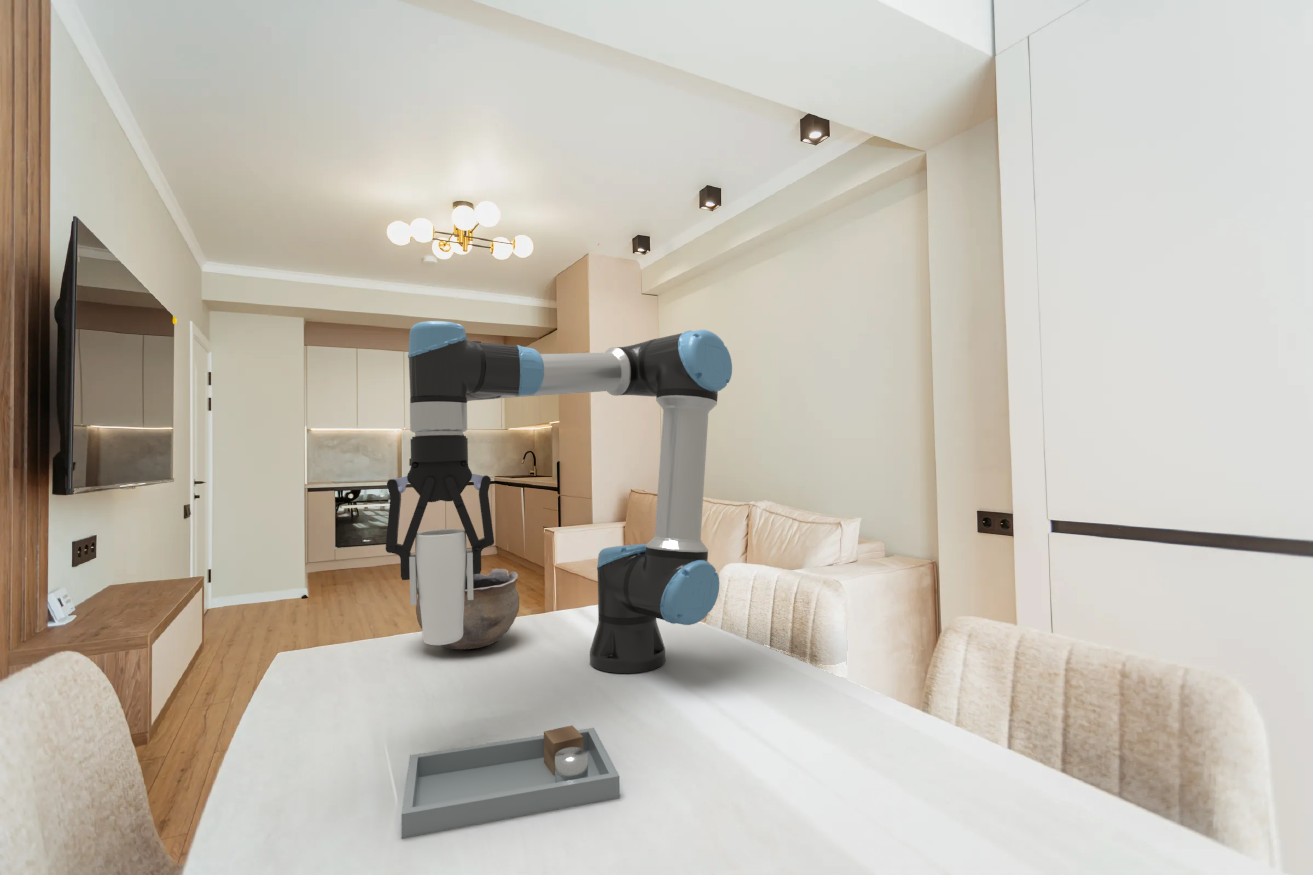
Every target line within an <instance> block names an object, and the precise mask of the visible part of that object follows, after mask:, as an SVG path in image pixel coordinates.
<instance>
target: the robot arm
mask: <svg viewBox="0 0 1313 875" xmlns="http://www.w3.org/2000/svg"><path fill="white" fill-rule="evenodd" d="M407 358H408V371H409V373H408V374H409V426H410V427H409V428H410V432H412V433H414V436H412V437H411V438H410V469H409V471H408V473H407V475H405V476H402V477H397V478H391V479H388V480H387V482H386V487H387V489H388V494H389V497H390V498H389V508H388V518H387V520H388V521H387V530H386V539H385V551H386V553H389V554H394V555H397V556H398V557H399V558H400V578H401V580H402V581H409V606H410V607H411V606H416V604H417V599H418V594H417V573H416V556H415V553H411V551H412V548H413V545H414V544H415V543H414V542H415V539H416V534H417V533H419V532H418V531H419V528H420V526H421V522H422V520H423V517H424V514H425V512H426V509H427V506H428V503H436V502H439V501H443V502H453V504H454V507H455V510H456V512H457V514H458V516H459V519H460V522H461V524H462V527H463V530H465V532H466V538H468V542H469V545H470V547H471V549H467V568H466V569H467V597H468V600H474V599H473V574H480V573H482V572H481V571H482V551H483V550H485V549H486V548H488V547H491V546H493V545H494V544H495V537H494V529H493V521H492V515H491V507H490V506H491V505H490V497H489V490H490V485H491V480H492V479H491V477H490V476H488V475H487V474H486V475H480V474H475V473H473V472H472V470H471V469H470V467H469V448H468V446H469V445H468V444H469V442H468V440H469V439H468V437H467V436H466V435H464V432H467V431H468V404H467V403H468V402H471V401H483V400H486V401H487V400H495V399H509V398H525V397H526V398H527V397H539V396H554V395H555V396H556V395H568V394H570V395H571V394H585V393H598V392H599V393H600V392H601V393H602V392H607V393H608V394H609V395H611V396H640V397H656V399H655V400H656V403H657V404H658V405H659V406H660V407H661V408H662V412H663V413H662V423H661V424H662V426H661V441H660V452H659V453H660V455H659V470H658V484H657V494H656V495H657V497H656V510H655V511H656V514H655V527H654V537H652V539H651V540H649V542H647V543H637V544H626V545H615V546H610V547H605V548H602V549H601V550H599V553H598V556H597V558H598V559H597V567H596V570H597V609H598V610H597V612H598V613H597V616H598V617H597V618H598V620H597V621H598V622H597V625H596V629H595V633H594V636H593V640H592V643H591V646H590V650H589V664H590V665H591V667H593V668H594V669H596V670H598V671H603V672H605V673H606V672H607V673H614V674H636V673H645V672H648V671H653V670H655V669H657V668H660V667H661V666H663V665H664V664H665V663H666V658H667V656H666V646H665V643H664V641H663V637H662V634H661V632H660V629H659V628H660V627H659V626H658V622H657V619H659V620H663V621H665V622H667V623H670V624H672V625H674V624H678V625H684V626H691V625H695V624H697V623H700V622H701V621H703V620H704V619H705V618H706V617H708V613H710V612H711V611H712V610H713V609H714V606H715V605H716V602H717V599H718V597H719V592H720V576H719V574H718V572H717V569H716V568H715V567H714V565H712V564H711V563H710V562H709V561H708V559H709V558H708V556H709V549H708V547H707V546H706V545H705V544H704V543H703V541H702V521H703V508H704V505H703V504H704V492H705V491H704V490H705V474H706V460H707V459H706V458H707V442H708V424H709V413H710V411H712V410H713V409H714V408H715V407H716V406H718V397H719V396H718V394H719V392H720V391H722V390H723V389H725V388H726V387H727V385H728V384H729V383H730V381H731V379H732V373H733V363H732V358H731V354H730V352H729V349H728V346H726V345H725V343H724V341H723V340H722V339H721V337H720V336H719V335H717V334H716V333H714V332H712V331H710V330H707V329H706V330H705V329H698V330H697V329H696V330H687V331H683V332H682V333H677V334H672V335H668V336H663V337H659V338H658V337H657V338H653V339H650V340H647V341H643V342H638V343H635V344H631V345H627V346H619V347H618V346H617V347H616V346H615V347H614V346H613V347H609V348H608V349H607V350H605V352H579V353H578V352H574V353H573V352H572V353H571V352H570V353H569V352H568V353H567V352H566V353H540V352H539V351H538V350H537V349H535V348H533V347H526V346H521V345H519V344H516V345H513V344H512V345H511V344H500V343H491V342H490V343H488V342H479V341H477V342H476V341H473V340H468V336H467V333H466V329H465V327H464V325H461V323H455V322H452V321H445V320H444V321H442V320H428V321H420V322H418V323H415V324H413V326H412V327H411V328H410V330H409V338H408V354H407ZM470 482H472V483H473V487H474V489H475V490H477V491H478V499H479V500H478V501H479V506H480V507H479V508H480V515H481V523H482V530H483V537H482V538H480V539H479V537H478V534H477V531H476V530H475V527H474V525H473V523H472V519H471V517H470V515H469V513H468V509H467V507H466V505H465V503H464V500H463V497H462V493H463V491H464V490H465V489H466V487H467V486H468V484H469V483H470ZM408 484H409V485H411V487H412V488H413V489H414V491H415V492H416V493H417V494H418V495H419V498H418V500H417V503H416V507H415V509H414V512H413V514H412V518H411V520H410V523H409V527H408V529H407V532H406V534H405V537H404V540H403V543H401V544H400V543H398V537H399V536H398V535H399V526H400V516H401V507H402V506H401V504H402V494H403V493H404V492H406V489H407V488H406V487H407V485H408Z"/></svg>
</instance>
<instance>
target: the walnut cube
mask: <svg viewBox="0 0 1313 875" xmlns="http://www.w3.org/2000/svg"><path fill="white" fill-rule="evenodd" d="M577 730H578V729H576V728H575V727H574V726H573V724H572V725H567V726H563V727H559V728H554V729H550V730H545V731H543V735H544V763H545V764H546V766H547V767H548V769H549V770H550V771H551V773H552V774H553V775H555V754H556V753H557V752H558V751H560V750H562V749H564V748H569V747H578V748H583V736H582V735H581V734H580V733H579V732H578V731H577Z"/></svg>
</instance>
